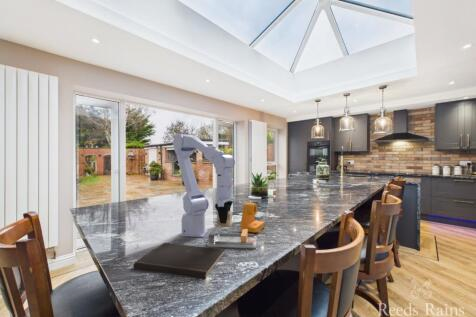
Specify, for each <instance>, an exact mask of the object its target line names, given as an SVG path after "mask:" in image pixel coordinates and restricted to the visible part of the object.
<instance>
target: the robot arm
mask: <svg viewBox="0 0 476 317" xmlns="http://www.w3.org/2000/svg"><path fill="white" fill-rule="evenodd" d="M172 146H173V150H174V152H175V155H176V159H177V162H178V166H179V170H180V174H181V176H182V181H183V183H184V184H183V185H184V188H185V192H186V193H185V195H184V196H183V197H182V202H183V206H182V207H183V211H184V213H183V214H182V216H181V235H180V236H181V237H194V238H195V237H199V238H203V237H204V236H205V235H206V234H207V232H208V231H209V230H208V229H206V218H205V217H206V215H205V213H206V212H207V210H208V208H209V206H210V205H209V204H210V202H209V198H208V197H207V196H206V194H205V191H202V190H201V189H200V188H199V185H198V182H197V179H196V175H195V171H194V168H193V165H192V161H191V159H190V158H191V156H192V155H193V154H194V152H195V150H198V151H199V152H201V153H202V154H203V157H204V158H205V159H206V160H208V161H209V162H211V163H212V164H213V167H214V169H215V174H216V198H215V199H216V202H217V203H216V204H214V208H215V209H216V211H217V213H218V215H219V219H220V223H225V224H226V222H227V216H228V211H231V208H232V205H233V203H234V200H236V197H234V196H233V186H232V184H233V182H232V181H233V177H232V176H233V174H232V173H233V171H232V169H233V168H234V167H235V164H236V161H235V157H234V156H233V155H232V154H230V153H228V154H226V153H225V151H223V150H220V149H219V148H217V146H216V145H213V144H211V145H208V144H206V143H205V142H204V141H202V140H201V139H200V137H199V136H197V135H195V134H185V133H184V134H182V133H176V134H175V135H174V136H173V141H172Z"/></svg>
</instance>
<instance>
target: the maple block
mask: <svg viewBox="0 0 476 317" xmlns="http://www.w3.org/2000/svg"><path fill="white" fill-rule="evenodd" d="M232 225H233V211H232V210H230V211H228V216H227V222H226V224H225V223H220V219H219V215H218V212H217V213H216V228H219V227H220V228H224V227H225V228H231V226H232Z"/></svg>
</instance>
